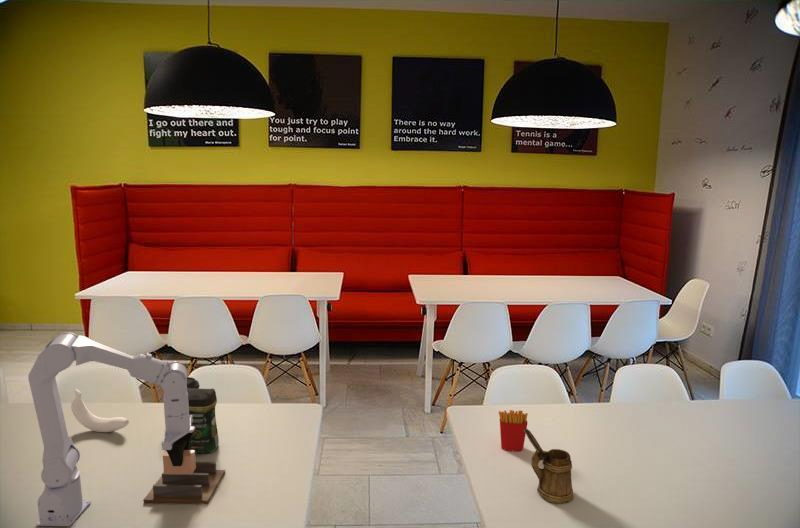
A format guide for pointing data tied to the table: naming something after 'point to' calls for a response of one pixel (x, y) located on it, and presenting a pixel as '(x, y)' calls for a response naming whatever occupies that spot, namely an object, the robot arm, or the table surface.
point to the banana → (95, 417)
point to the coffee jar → (203, 420)
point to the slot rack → (187, 486)
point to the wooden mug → (552, 473)
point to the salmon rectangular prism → (185, 468)
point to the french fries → (513, 430)
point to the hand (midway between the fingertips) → (180, 461)
